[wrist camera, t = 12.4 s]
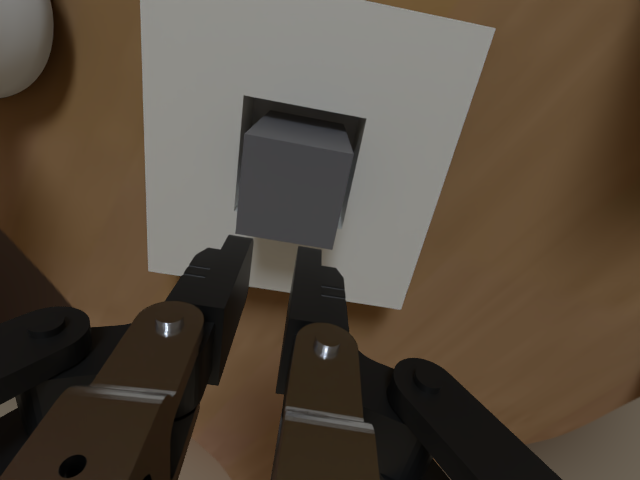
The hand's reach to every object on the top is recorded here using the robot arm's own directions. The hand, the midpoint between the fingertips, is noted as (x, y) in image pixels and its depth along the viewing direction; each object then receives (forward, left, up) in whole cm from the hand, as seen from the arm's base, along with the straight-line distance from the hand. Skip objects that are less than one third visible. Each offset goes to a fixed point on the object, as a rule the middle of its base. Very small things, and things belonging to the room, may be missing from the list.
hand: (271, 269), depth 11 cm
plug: (0, 0, -16) cm, 16 cm away
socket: (0, 0, -17) cm, 17 cm away
